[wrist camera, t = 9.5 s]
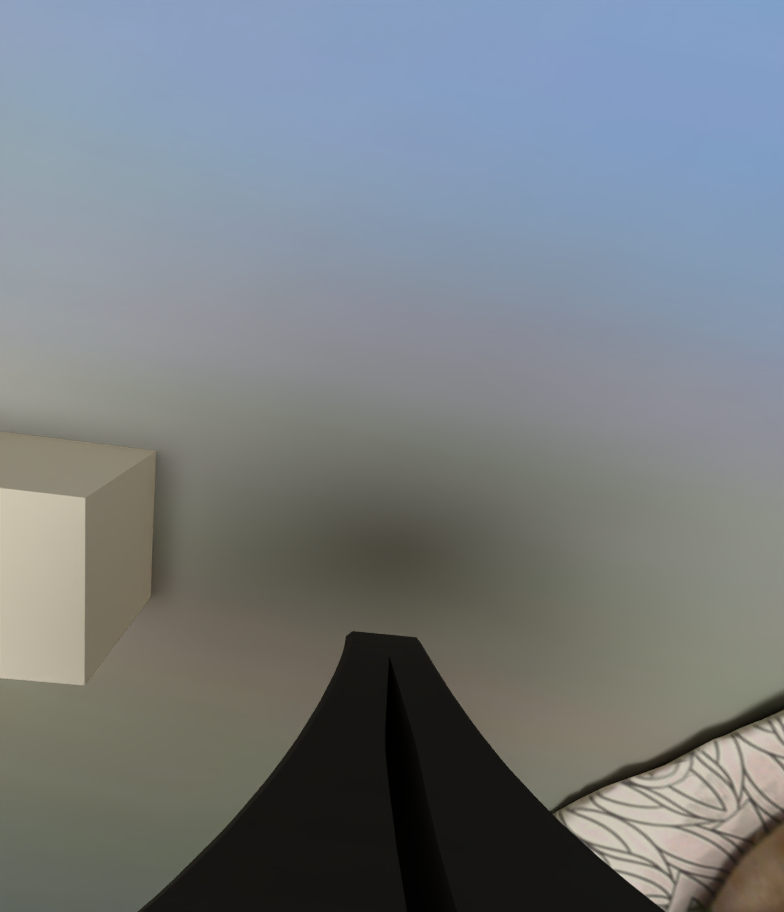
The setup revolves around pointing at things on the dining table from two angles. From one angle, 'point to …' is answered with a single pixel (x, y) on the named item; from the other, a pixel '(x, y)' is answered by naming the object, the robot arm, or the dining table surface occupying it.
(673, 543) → the dining table surface
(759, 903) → the cookie jar
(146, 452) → the cream block
